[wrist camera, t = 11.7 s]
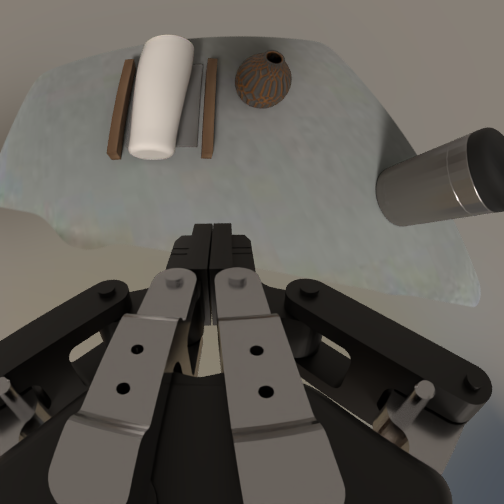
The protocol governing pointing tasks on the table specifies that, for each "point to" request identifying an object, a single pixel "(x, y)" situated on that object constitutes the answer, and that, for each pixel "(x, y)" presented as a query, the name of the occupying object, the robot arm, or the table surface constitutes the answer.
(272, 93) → the vase
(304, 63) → the table surface
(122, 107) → the cradle
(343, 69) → the table surface
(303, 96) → the table surface
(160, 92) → the white cup
